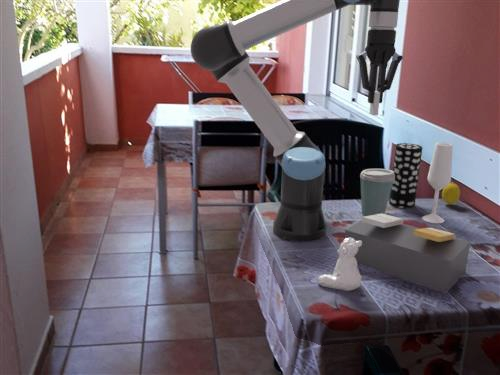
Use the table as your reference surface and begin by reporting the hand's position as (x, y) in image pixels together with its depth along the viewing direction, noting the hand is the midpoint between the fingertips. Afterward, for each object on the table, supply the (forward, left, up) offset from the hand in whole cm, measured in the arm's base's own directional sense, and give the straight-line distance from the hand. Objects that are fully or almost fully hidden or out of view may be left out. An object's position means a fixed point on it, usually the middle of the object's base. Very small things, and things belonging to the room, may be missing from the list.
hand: (373, 114), depth 143 cm
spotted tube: (+18, +12, -33) cm, 39 cm away
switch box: (-1, -31, -32) cm, 45 cm away
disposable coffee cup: (+4, +2, -33) cm, 33 cm away
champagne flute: (+22, -2, -33) cm, 39 cm away
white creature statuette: (-19, -39, -33) cm, 54 cm away
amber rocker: (+3, -36, -23) cm, 42 cm away
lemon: (+34, +10, -33) cm, 48 cm away
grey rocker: (-5, -26, -23) cm, 35 cm away
